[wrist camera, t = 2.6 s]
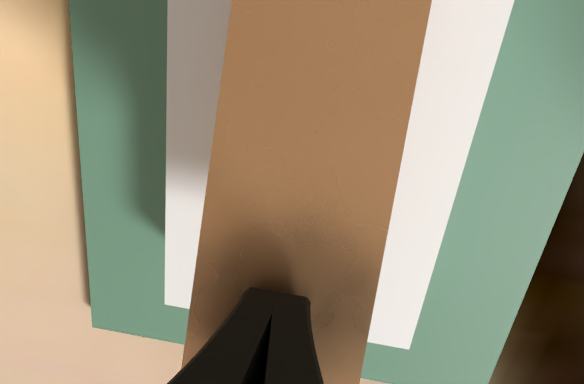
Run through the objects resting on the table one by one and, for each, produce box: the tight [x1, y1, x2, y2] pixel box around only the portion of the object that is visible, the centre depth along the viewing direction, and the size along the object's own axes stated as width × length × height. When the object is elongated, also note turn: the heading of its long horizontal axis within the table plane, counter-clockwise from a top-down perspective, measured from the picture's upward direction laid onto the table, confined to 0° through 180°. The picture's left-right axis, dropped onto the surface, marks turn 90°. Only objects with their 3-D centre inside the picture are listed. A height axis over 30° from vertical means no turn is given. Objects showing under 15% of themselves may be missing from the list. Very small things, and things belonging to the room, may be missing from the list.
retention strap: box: [181, 0, 432, 384], centre depth 12 cm, size 4×12×1 cm, turn 173°
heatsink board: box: [68, 0, 584, 384], centre depth 15 cm, size 16×26×5 cm, turn 173°
